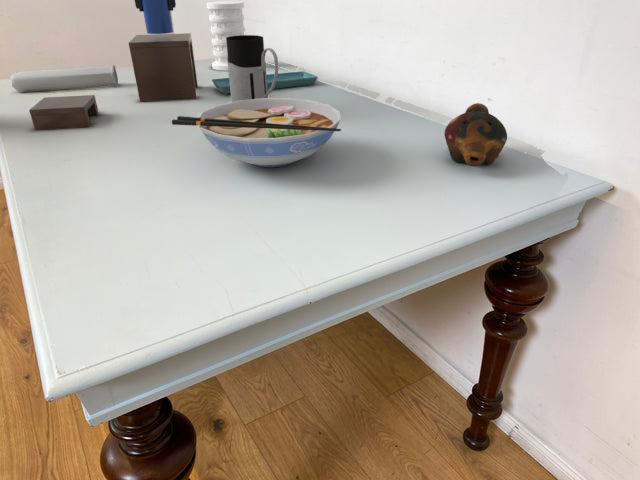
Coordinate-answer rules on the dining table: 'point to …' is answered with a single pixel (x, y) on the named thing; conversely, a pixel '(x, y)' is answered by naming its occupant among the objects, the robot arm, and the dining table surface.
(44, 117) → the low shelf
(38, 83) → the tube
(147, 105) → the dining table surface
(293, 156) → the ramen bowl
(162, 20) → the can
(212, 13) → the decorative container
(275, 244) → the dining table surface
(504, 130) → the decorative turtle
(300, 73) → the teal serving tray
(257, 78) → the glass holder
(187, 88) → the brown block
